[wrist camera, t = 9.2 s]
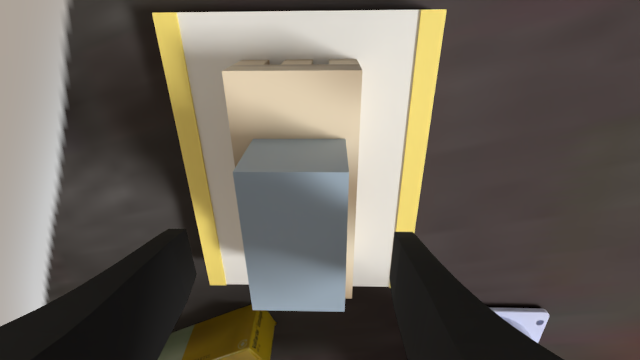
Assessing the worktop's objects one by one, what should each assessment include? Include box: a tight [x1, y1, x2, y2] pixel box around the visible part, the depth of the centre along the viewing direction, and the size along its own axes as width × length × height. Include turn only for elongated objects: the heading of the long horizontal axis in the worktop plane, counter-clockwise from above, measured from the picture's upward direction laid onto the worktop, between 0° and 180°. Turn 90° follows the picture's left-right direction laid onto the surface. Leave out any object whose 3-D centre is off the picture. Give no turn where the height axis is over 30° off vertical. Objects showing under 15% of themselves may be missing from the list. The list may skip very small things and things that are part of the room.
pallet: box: [222, 59, 362, 299], centre depth 16 cm, size 11×5×3 cm, turn 1°
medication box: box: [158, 304, 277, 360], centre depth 24 cm, size 12×3×4 cm, turn 117°
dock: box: [152, 9, 447, 288], centre depth 18 cm, size 15×12×2 cm
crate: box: [233, 139, 349, 312], centre depth 13 cm, size 6×4×3 cm, turn 1°
